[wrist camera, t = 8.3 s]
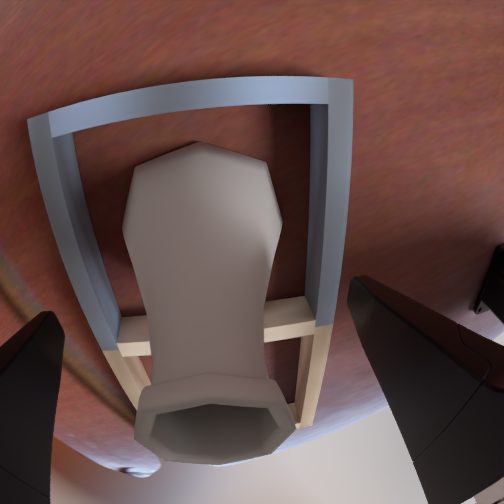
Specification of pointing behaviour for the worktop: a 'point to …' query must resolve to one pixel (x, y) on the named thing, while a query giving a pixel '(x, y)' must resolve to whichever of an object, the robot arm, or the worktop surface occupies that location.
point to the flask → (206, 304)
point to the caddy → (319, 228)
